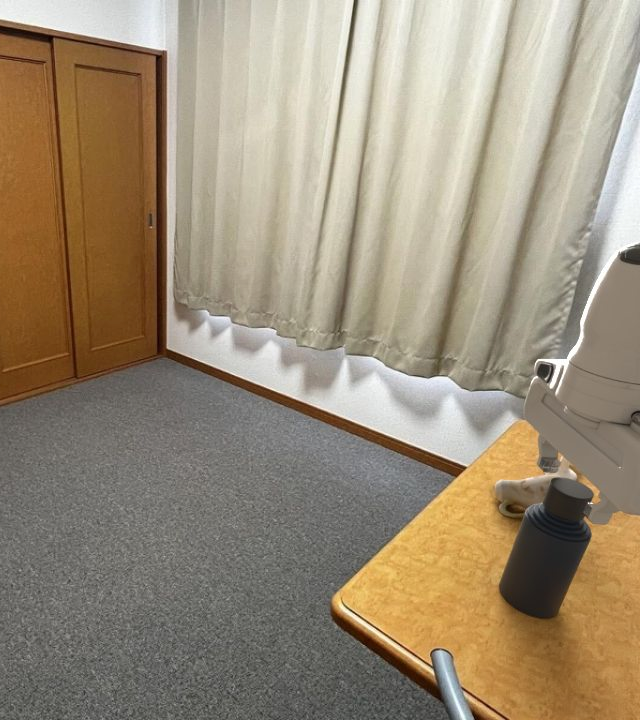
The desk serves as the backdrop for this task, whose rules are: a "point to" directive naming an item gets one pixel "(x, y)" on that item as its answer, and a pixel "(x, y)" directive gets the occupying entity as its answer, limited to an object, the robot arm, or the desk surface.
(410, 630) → the desk surface
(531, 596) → the flask
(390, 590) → the desk surface
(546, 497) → the stopper
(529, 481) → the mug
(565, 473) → the chess piece
